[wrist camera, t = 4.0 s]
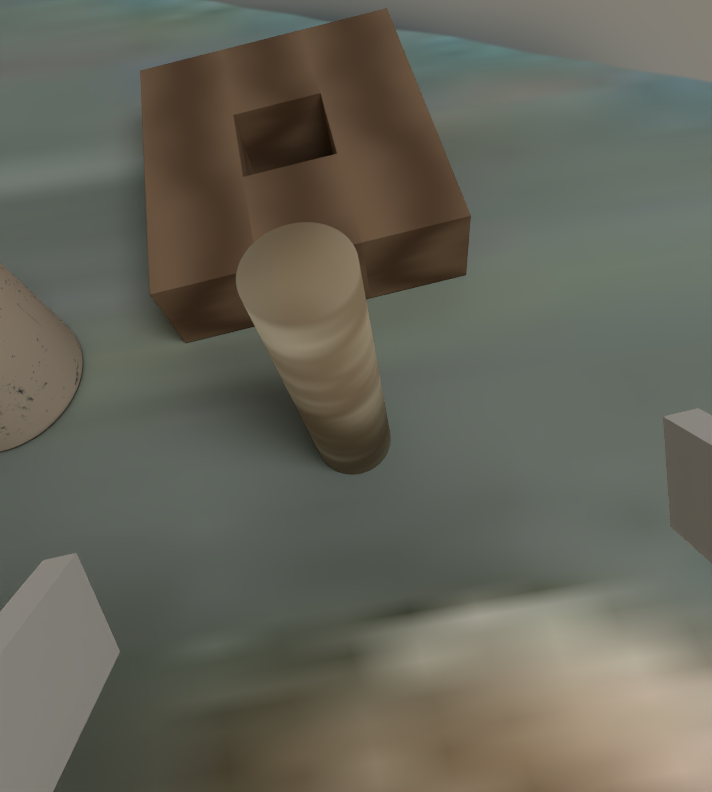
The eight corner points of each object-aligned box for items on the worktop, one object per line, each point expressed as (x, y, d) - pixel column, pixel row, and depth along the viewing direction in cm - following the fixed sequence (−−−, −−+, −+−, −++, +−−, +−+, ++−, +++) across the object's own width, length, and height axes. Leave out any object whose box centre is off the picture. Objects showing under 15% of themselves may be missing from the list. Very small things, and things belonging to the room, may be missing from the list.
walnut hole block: (185, 342, 32) (149, 294, 28) (169, 131, 40) (140, 70, 36) (465, 274, 31) (470, 215, 27) (391, 76, 40) (386, 8, 36)
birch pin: (324, 482, 27) (242, 336, 16) (312, 415, 29) (230, 238, 17) (398, 464, 27) (371, 305, 15) (381, 398, 29) (346, 210, 17)
